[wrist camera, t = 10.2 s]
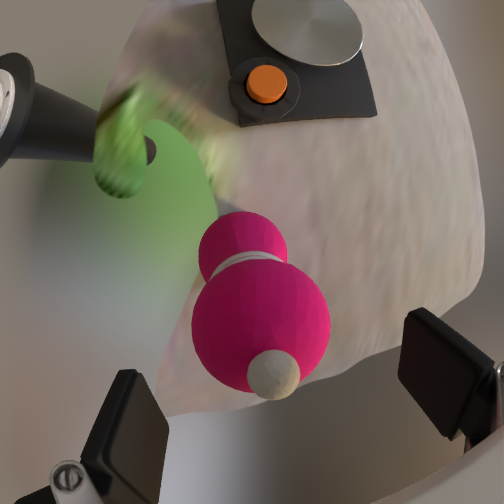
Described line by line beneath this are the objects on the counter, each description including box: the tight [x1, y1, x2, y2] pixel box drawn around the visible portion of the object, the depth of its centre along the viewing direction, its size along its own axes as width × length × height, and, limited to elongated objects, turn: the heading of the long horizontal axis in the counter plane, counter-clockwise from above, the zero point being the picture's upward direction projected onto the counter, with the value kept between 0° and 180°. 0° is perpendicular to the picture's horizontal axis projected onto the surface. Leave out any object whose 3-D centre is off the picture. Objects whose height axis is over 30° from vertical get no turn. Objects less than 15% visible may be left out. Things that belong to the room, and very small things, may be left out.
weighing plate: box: [251, 0, 363, 68], centre depth 19 cm, size 11×11×1 cm
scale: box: [216, 0, 377, 127], centre depth 21 cm, size 15×16×3 cm
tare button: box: [246, 65, 287, 103], centre depth 20 cm, size 3×3×2 cm
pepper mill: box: [191, 212, 331, 400], centre depth 17 cm, size 7×7×20 cm
